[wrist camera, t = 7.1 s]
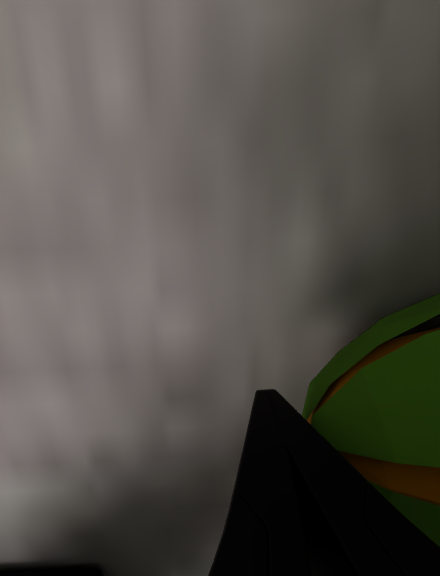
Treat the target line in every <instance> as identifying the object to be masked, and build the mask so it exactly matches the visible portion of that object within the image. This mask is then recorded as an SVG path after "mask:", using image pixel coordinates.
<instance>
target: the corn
mask: <svg viewBox="0 0 440 576" xmlns="http://www.w3.org/2000/svg"><path fill="white" fill-rule="evenodd" d="M436 317H440V294H437V295H435V296H433V297H430V298H428V299H426V300H423V301H421V302H419V303H416V304H414V305H412V306H409V307H407V308H405V309H402V310H400V311H398V312H395V313H393V314H391V315H388V316H386V317H384V318H382V319H381V320H379V321H378V322H377V323H375V324H374V325H373V326H371V327H370V328H369V329H368V330H366V331H365V332H364V333H362V334H361V335H360V336H358V337H357V338H356V339H354V340H353V341H352V342H351V343H349V344H348V345H347V346H345V347H344V348H343V349H341V350H340V351H339V352H338V353H337V354H336V355H335V356H334V357H333V358H332V359H331V360H330V362H329V363H328V364H327V365H326V366H325V367H324V368H323V369H322V370H321V371H320V373H319V374H318V375H317V376H316V377H315V378H314V379H313V380H312V381H311V382H310V384H309V388H308V392H307V396H306V400H305V405H304V409H303V413H302V416H303V417H304V418H305V419H306V420H307V421H308V422H309V423H310V424H311V425H312V426H313V427H314V428H315V429H316V430H317V431H318V432H319V433H320V434H321V435H322V436H323V437H324V438H325V439H326V440H327V441H328V442H329V443H330V444H331V445H332V446H333V447H334V448H335V449H336V450H337V451H338V452H339V453H340V454H341V455H342V456H343V457H344V458H345V459H346V460H347V461H348V462H349V463H350V464H351V465H352V466H353V467H354V468H355V469H356V470H357V471H358V472H359V473H360V474H361V475H362V476H363V477H364V478H365V479H366V480H367V483H371V484H372V485H373V486H374V487H375V488H376V489H377V490H378V491H379V492H380V493H381V494H382V495H383V496H384V497H385V498H386V499H387V500H388V501H389V502H390V503H391V504H392V505H393V506H395V507H396V508H397V509H398V510H399V511H400V512H401V513H402V514H403V515H404V516H405V517H406V518H407V519H408V520H410V521H411V522H412V523H413V524H414V525H415V526H416V527H418V528H419V529H420V530H421V531H422V532H423V533H424V534H426V535H427V536H428V537H429V538H430V539H431V540H432V541H434V542H435V543H436V544H437V545H438V546H439V547H440V327H439V328H434V329H430V330H426V331H422V332H418V333H414V334H410V335H406V336H402V337H398V338H394V337H396V336H398V335H400V334H401V333H403V332H405V331H407V330H409V329H411V328H413V327H415V326H417V325H419V324H421V323H423V322H425V321H427V320H429V319H431V318H436ZM392 338H394V339H392ZM378 345H379V346H378Z"/></svg>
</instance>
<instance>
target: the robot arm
mask: <svg viewBox="0 0 440 576" xmlns="http://www.w3.org/2000/svg"><path fill="white" fill-rule="evenodd" d="M0 576H104V575H103V572H102V571H101V570H99V569H96V568H84V569H66V570H49V571H31V572H14V573H0ZM208 576H440V547H439V546H438V545H437V544H436V543H435V542H434V541H432V540H431V539H430V538H429V537H428V536H427V535H426V534H424V533H423V532H422V531H421V530H420V529H419V528H418V527H416V526H415V525H414V524H413V523H412V522H411V521H410V520H408V519H407V518H406V517H405V516H404V515H403V514H402V513H401V512H400V511H399V510H398V509H397V508H396V507H395V506H393V505H392V504H391V503H390V502H389V501H388V500H387V499H386V498H385V497H384V496H383V495H382V494H381V493H380V492H379V491H378V490H377V489H376V488H375V487H374V486H373V485H372V484H371V483H367V480H366V479H365V478H364V477H363V476H362V475H361V474H360V473H359V472H358V471H357V470H356V469H355V468H354V467H353V466H352V465H351V464H350V463H349V462H348V461H347V460H346V459H345V458H344V457H343V456H342V455H341V454H340V453H339V452H338V451H337V450H336V449H335V448H334V447H333V446H332V445H331V444H330V443H329V442H328V441H327V440H326V439H325V438H324V437H323V436H322V435H321V434H320V433H319V432H318V431H317V430H316V429H315V428H314V427H313V426H312V425H311V424H310V423H309V422H308V421H307V420H306V419H305V418H304V417H303V416H302V415H301V414H300V413H299V412H298V411H297V410H295V409H294V408H293V407H292V406H291V405H290V404H289V403H288V402H287V401H286V400H285V399H284V398H283V397H282V396H281V395H280V394H279V393H278V392H277V391H276V390H274V389H267V390H257V391H256V393H255V398H254V402H253V406H252V411H251V415H250V420H249V424H248V428H247V433H246V437H245V442H244V446H243V451H242V455H241V459H240V464H239V468H238V473H237V477H236V481H235V486H234V490H233V494H232V498H231V503H230V507H229V511H228V515H227V519H226V523H225V526H224V530H223V534H222V537H221V540H220V543H219V546H218V549H217V552H216V555H215V558H214V561H213V564H212V567H211V569H210V572H209V575H208Z"/></svg>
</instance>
